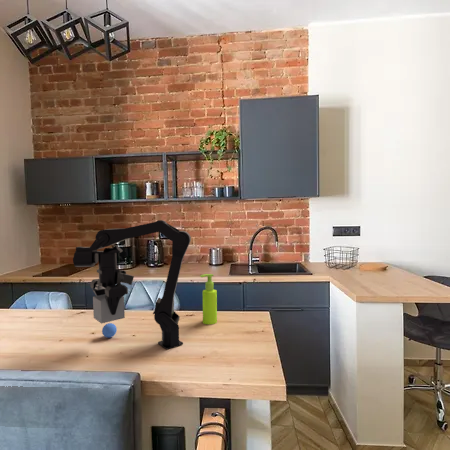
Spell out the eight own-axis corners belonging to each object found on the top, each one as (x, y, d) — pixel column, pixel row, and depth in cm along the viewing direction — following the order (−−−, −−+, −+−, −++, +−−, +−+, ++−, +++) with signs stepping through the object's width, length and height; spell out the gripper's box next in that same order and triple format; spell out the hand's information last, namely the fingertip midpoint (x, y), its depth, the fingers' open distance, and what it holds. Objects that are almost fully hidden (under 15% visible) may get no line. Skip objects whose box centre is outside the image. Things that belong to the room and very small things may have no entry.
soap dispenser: (198, 321, 127) (198, 273, 127) (213, 318, 130) (213, 272, 130) (203, 325, 122) (202, 276, 122) (219, 323, 125) (218, 274, 124)
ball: (118, 337, 111) (118, 323, 111) (104, 341, 108) (104, 327, 107) (114, 333, 115) (113, 320, 115) (100, 336, 111) (100, 323, 111)
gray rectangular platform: (124, 317, 103) (124, 296, 103) (101, 323, 98) (100, 301, 97) (115, 312, 109) (115, 292, 108) (93, 317, 103) (92, 296, 103)
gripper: (142, 266, 101) (143, 312, 101) (120, 260, 115) (121, 301, 115) (108, 270, 94) (110, 320, 94) (89, 264, 108) (90, 307, 108)
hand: (109, 311), depth 103 cm, fingers closed on gray rectangular platform, 8 cm apart
